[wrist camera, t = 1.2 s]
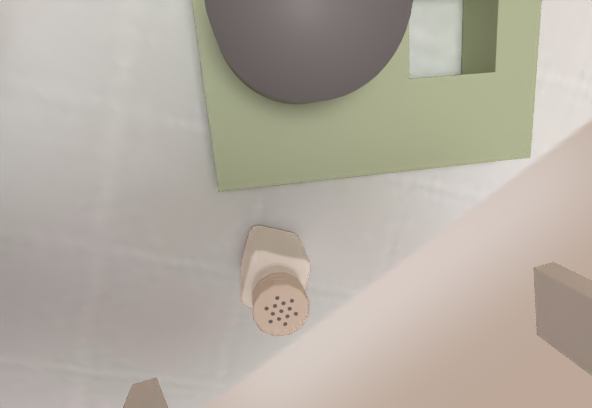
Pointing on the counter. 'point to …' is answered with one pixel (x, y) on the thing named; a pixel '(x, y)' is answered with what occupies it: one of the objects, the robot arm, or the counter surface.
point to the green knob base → (359, 89)
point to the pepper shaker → (275, 280)
